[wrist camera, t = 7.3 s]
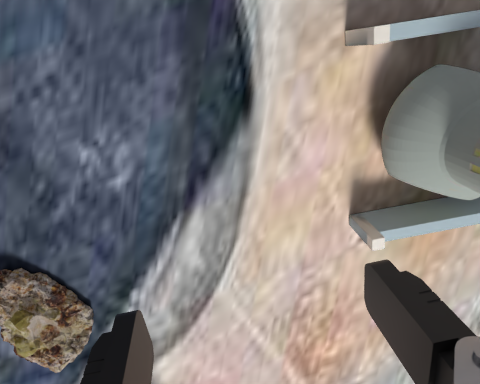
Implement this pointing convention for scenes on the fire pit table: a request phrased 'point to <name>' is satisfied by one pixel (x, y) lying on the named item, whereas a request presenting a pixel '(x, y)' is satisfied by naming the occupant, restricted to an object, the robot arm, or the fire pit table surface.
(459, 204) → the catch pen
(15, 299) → the mineral rock
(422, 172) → the air freshener
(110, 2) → the fire pit table surface
